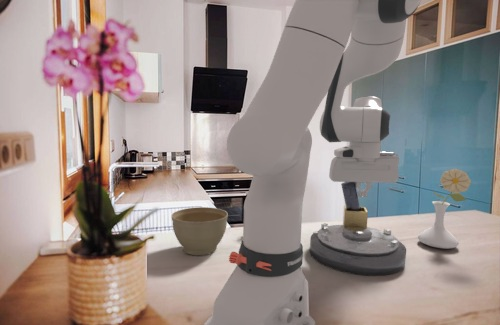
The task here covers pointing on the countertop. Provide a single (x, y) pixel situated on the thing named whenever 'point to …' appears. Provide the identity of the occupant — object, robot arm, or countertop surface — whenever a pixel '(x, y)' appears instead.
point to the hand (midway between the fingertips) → (362, 196)
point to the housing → (358, 260)
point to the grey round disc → (357, 236)
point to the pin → (350, 196)
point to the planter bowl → (199, 229)
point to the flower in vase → (437, 233)
